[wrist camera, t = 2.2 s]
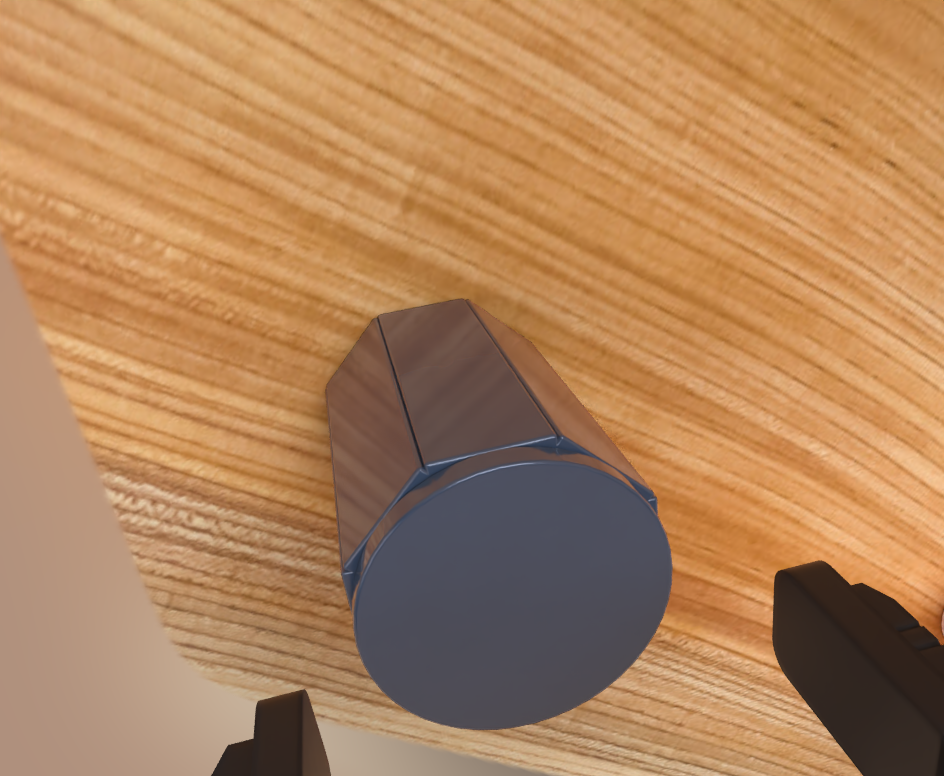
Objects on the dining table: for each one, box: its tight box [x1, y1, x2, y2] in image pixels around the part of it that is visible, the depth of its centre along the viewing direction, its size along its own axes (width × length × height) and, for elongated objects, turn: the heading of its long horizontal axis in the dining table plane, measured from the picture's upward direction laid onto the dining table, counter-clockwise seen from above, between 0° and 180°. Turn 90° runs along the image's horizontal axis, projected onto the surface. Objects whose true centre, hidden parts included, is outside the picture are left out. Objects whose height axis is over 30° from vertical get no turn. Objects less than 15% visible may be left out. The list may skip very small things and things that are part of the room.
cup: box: [326, 299, 672, 730], centre depth 18 cm, size 6×6×9 cm
